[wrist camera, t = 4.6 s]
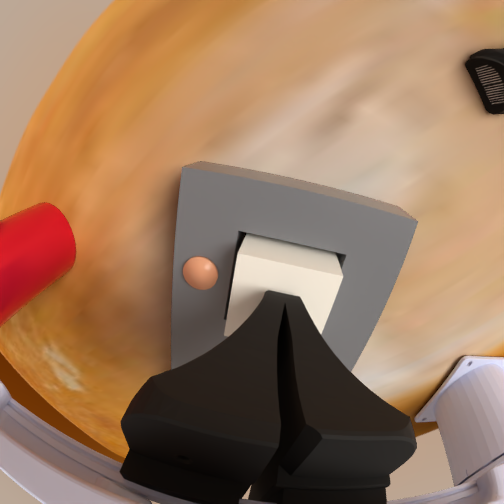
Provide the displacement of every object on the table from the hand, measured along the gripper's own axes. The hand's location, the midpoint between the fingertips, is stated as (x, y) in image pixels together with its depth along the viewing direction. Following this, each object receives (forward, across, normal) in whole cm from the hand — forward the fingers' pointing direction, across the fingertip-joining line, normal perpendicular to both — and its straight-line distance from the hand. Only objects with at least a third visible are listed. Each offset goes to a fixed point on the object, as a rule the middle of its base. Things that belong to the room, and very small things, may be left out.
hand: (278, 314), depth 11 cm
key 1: (+4, 0, 0) cm, 4 cm away
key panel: (+4, 0, +7) cm, 8 cm away
